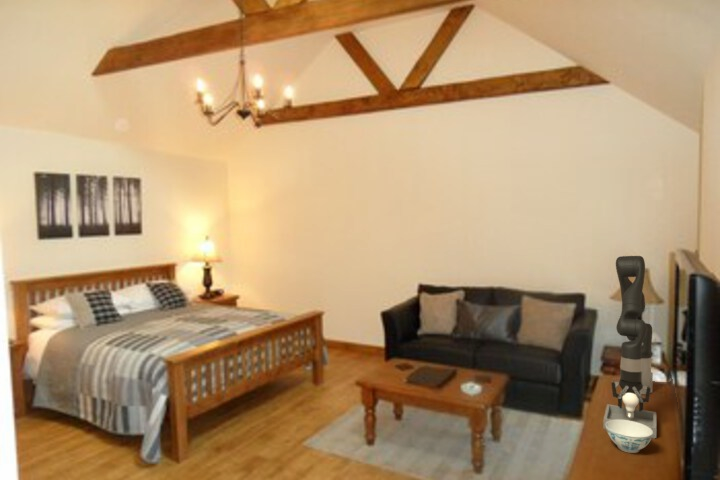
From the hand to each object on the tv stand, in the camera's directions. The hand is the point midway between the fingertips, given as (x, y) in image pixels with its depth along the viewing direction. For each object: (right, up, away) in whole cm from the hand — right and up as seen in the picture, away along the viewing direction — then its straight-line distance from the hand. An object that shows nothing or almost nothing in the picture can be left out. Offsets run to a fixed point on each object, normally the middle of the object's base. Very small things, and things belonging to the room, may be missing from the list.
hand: (630, 409), depth 198 cm
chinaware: (-12, -8, -20) cm, 24 cm away
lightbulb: (0, -4, 0) cm, 4 cm away
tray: (0, -7, 0) cm, 7 cm away
